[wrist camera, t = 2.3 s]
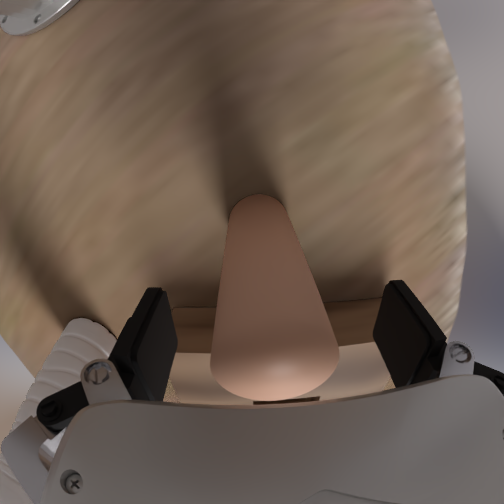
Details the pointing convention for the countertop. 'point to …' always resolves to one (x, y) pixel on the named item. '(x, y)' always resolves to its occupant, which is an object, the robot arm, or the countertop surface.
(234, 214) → the peg
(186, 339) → the socket block
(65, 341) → the water bottle
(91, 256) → the countertop surface
